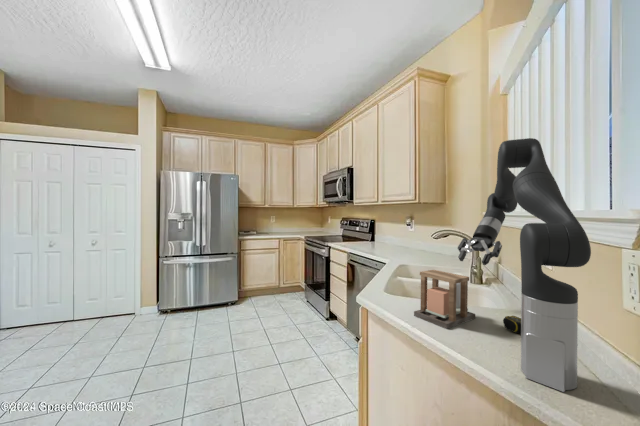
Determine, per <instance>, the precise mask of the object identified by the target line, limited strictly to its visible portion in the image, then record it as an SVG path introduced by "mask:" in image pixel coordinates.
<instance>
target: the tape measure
mask: <svg viewBox="0 0 640 426" xmlns="http://www.w3.org/2000/svg"><path fill="white" fill-rule="evenodd" d="M502 323H503V325H504V328H505V329H507V330H509V331H510V332H514V333H516V334H520V335H521V317H518V316H515V315H506V316H505V317H504V318H503V320H502Z"/></svg>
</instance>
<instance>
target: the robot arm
mask: <svg viewBox="0 0 640 426" xmlns="http://www.w3.org/2000/svg"><path fill="white" fill-rule="evenodd" d="M545 158H546V157H545V154H544V151H543V148H542V145H541V142H540V140H538V139H536V138H531V137H530V138H527V137H526V138H519V139H518V138H517V139H508V140H504V141H502V142H501V144H500V145H499V148H498V151H497V159H496V160H497V163H496V184H495V187H494V192H493V193H491V194H489V195H488V197H487V201H486V211H485V213H484V215H483V217H482V219H481V220H480V221H479V223H478V225H477V226H476V229H475V231H474V232H473V235H472V238H471V239H467V238H466V237H463V238H462V239H461V241H460V242H459V244H458V246H457V250H458V251H459V254H458V260H459V261H460V262H464V260H465V257H466V256H467V254H469V253H472V252H480V253H482V252H486V253H485V254H484V256H483V258H482V260H481V263H482V265H483V266H487V265H488V264H489V263H490V261H491V259H492V258H499V256H500V253H501V250H502V248H503V245H502V243H501V242H500V240H497V237H498V235H500V231H501V229H502V225H503V223H504V222H505V220H506V214H507V213H509V214H510V213H513V212H514V211H515V210H516V209H517V205H519V206H520V207H521V208H522V209H523V211H525V212H527V213H529V214H530V215H533V216H534V217H536V218H537V219H539V220H541V221H542V223H541V222H530V223H526V224H524V225H523V226H522V228H521V229H520V234H519V250H520V265H521V270H520V271H521V276H520V277H521V278H520V279H521V290H520V291H521V297H520V299H521V304H520V305H521V307H520V309H521V310H520V318H521V334H520V370H521V371H522V372H523V374H524V376H525V378H526V379H527V380H530V381H533V382H536V383H538V384H540V385H544V386H546V387H550V388H553V389H555V390H557V391H560V392H563V393H565V392H566V391H570V390H575V389H576V388H578V333H579V332H578V329H579V328H578V326H579V325H578V323H579V322H578V321H579V320H578V318H579V316H578V313H579V311H578V309H579V305H578V304H579V303H578V302H579V293H578V292H579V291H578V290H577V288H576V287H574V286H573V285H571V284H568V283H566V282H563V281H560V280H557V279H556V278H553V277H551V276H550V275H548V274H546V273H544V272H543V268H542V266H547V267H558V268H560V267H561V268H582V267H585V265H587V264H588V263H589V262H590V260H591V254H592V250H591V249H592V248H591V242H590V240H589V238H588V235H587V233H586V231H585V229H584V228H583V226H582V224H581V223H580V222H579V220H578V219H577V217H576V216H575V215H574V213H573V212H572V211H571V209H570V208H569V206H568V204H567V203H566V201H565V198H564V197H563V194H562V192H561V190H560V188H559V185H558V183H557V181H556V179H555V177H554V176H553V174H552V172H551V170H550V168H549V166H548V164H547V162H546V159H545ZM518 168H519V169H520V168H523V169H522V170H521V171H520V172H519V173H518V174H517V175H515V174H514V173H513V172H512V171H511V170H510V169H518ZM543 222H544V223H543ZM492 247H493V250H492V251H490V249H491V248H492Z"/></svg>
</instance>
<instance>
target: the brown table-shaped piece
mask: <svg viewBox="0 0 640 426" xmlns="http://www.w3.org/2000/svg"><path fill="white" fill-rule="evenodd" d="M419 276H420V309H418V310H414V311H413V316H414V317H416V318H418V319H421V320H424V321H426V322H428V323H431V324H433V325H436V326H439V327H441V328H444V329H446V330H448V329H450V328H453V327H456V326H459V325H461V324H465V323H466V322H469V321H472V320H475V319H476V313H474V312H471V311H469V310H468V311H467V308H468V301H469V300H468V296H469V295H468V293H469V292H468V291H469V290H468V288H469V287H468V282H469V281H470V276H466V275H462V274H457V273H456V274H455V273H451V272H446V271H442V270H437V269H430V270H429V269H428V270H423V271H419ZM428 278H430V279H432V282H431V288H435V287H439V284H440V283H439V281H442V282H447V283H448V284H449V285H448V290H449V317H447V318H443V317H440V316H437V315H435V314H432V313H429V312H426V309H427V289H428ZM456 283H461V295H460V313H459V314H456Z"/></svg>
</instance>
